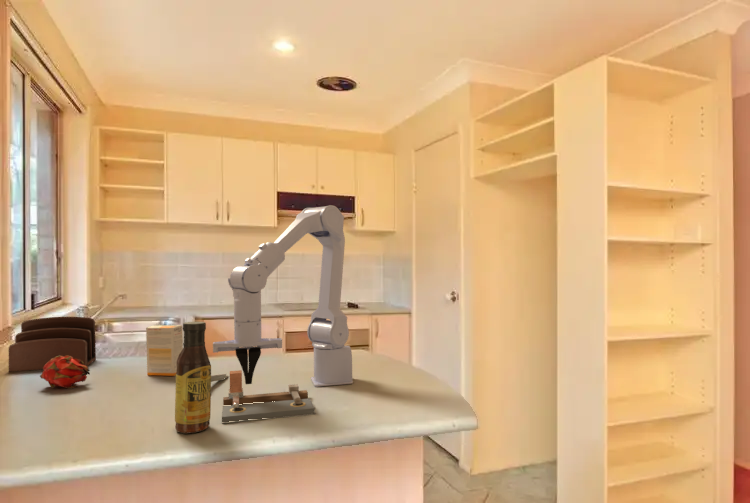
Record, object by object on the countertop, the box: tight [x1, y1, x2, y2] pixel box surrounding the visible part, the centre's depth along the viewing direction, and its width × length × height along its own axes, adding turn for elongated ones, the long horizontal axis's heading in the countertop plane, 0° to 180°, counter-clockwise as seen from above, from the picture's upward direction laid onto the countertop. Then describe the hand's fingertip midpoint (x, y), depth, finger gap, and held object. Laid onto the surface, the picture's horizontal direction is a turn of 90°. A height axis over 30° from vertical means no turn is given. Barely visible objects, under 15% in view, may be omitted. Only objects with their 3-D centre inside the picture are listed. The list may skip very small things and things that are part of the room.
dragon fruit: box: [39, 355, 91, 389], centre depth 123 cm, size 8×8×12 cm
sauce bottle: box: [174, 321, 212, 434], centre depth 93 cm, size 7×6×20 cm
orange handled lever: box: [228, 369, 244, 409], centre depth 104 cm, size 3×10×6 cm, turn 15°
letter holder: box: [8, 316, 97, 373], centre depth 147 cm, size 10×20×14 cm, turn 106°
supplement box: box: [145, 324, 184, 377], centre depth 135 cm, size 8×5×13 cm, turn 80°
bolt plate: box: [221, 397, 316, 423], centre depth 101 cm, size 18×7×1 cm, turn 106°
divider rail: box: [222, 383, 309, 405], centre depth 105 cm, size 18×10×3 cm, turn 106°
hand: (248, 383), depth 108 cm, fingers closed
